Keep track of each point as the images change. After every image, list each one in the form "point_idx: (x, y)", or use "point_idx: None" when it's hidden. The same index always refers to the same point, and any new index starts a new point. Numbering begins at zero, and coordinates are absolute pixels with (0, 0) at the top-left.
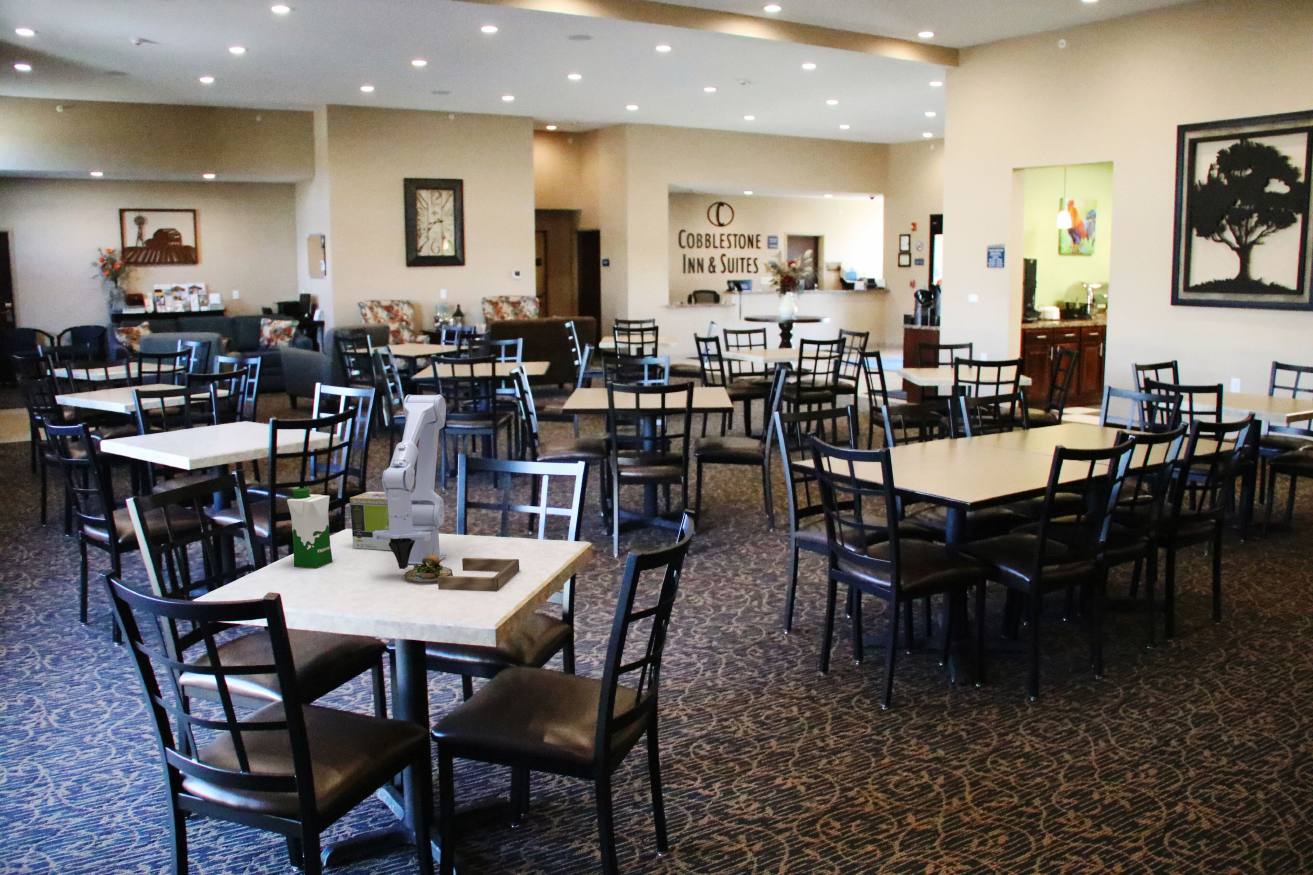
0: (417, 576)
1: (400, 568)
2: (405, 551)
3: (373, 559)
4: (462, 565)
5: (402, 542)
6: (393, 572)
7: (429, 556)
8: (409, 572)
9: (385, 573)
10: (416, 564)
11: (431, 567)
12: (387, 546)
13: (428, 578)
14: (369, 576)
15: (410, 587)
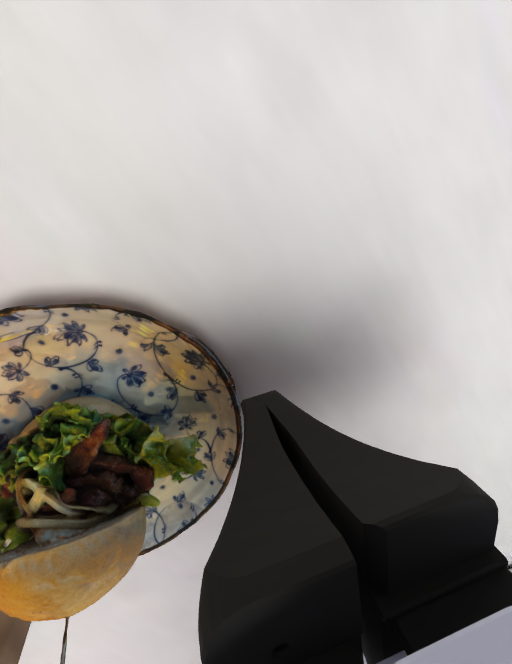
0: (159, 409)
1: (267, 392)
2: (235, 504)
3: (501, 497)
4: (9, 631)
5: (302, 614)
6: (349, 419)
7: (31, 579)
8: (227, 418)
9: (377, 392)
10: (165, 465)
11: (22, 486)
12: None
13: (50, 407)
14: (430, 321)
15: (36, 217)
